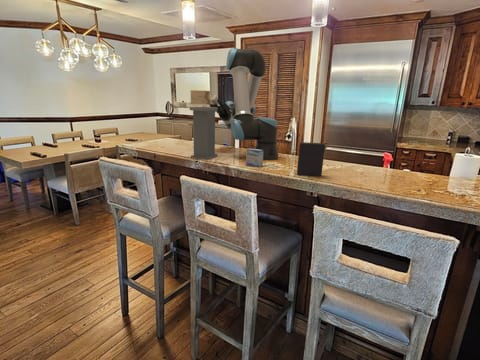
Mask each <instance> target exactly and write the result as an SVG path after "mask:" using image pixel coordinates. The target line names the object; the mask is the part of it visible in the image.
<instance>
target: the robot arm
mask: <svg viewBox="0 0 480 360" xmlns="http://www.w3.org/2000/svg"><path fill="white" fill-rule="evenodd" d="M226 56H227V58H226V65H225V66H226V67H225V68H226V70H228V71H229V75H231V76H232V84H233V94H234V95H233V97H234V102H233V101H232V100H228V101H223V100H222V99H219V98H218V96H217V95H216V94H214V96H212V95H211V94H210V100H215V102H216V103H217V104H209V107H217V108H218V110H215V113H217V114H218V117H219V118H220V119H221V121H222V122H223V124H224V125H225V126H226V128H227V129H229V131H230V133H231V135H232V137H233V139H234V140H237V141H251V140H252V141H255V142H256V144H255V147H254V149H260V150H264V152H263V161H264V160H265V161H266V160H268V161H270V160H277V159H279V152H278V148H277V139H278V138H277V136H278V120H276V119H274V118H271V117H270V118H268V117H263V116H257V119H254V116H255V115H256V111H257V109H256V106H255V103H256V98H257V95H258V92H259V88H260V85H261V81H262V78H263V77H264V76H265V74H266V69H267V63H266V60H265V57H264V55H263V54H262V53H261V52H260V51H259V50H257V49H249V48H247V49H245V48H230V49H229V50H228V53H227V55H226ZM248 75H249V77H248ZM248 78H249V79H248Z"/></svg>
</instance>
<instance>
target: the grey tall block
mask: <svg viewBox="0 0 480 360" xmlns="http://www.w3.org/2000/svg"><path fill="white" fill-rule="evenodd" d="M215 110H218V108H217V107H210V106H193V107H192V106H191V107H189V111H192V120H193V122H192V123H193V124H192V125H193V126H192V127H193V129H192V130H193V131H192V134H193V154H192V155H191V156H190V158H191V159H197V160H199V159H200V160H204V161H205V160H207V161H208V160H212V159H214V158H216V157H218V153H216V112H215Z"/></svg>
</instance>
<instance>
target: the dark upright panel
mask: <svg viewBox="0 0 480 360" xmlns="http://www.w3.org/2000/svg"><path fill="white" fill-rule="evenodd" d="M325 150H326V144H325V143H322V142H303V141H301V142H299V145H298V157H297V167H296V168H297V170H296V174H297V175H298V176H303V177H307V176H308V177H322V175H323V166H324V157H325Z"/></svg>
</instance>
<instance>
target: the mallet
mask: <svg viewBox="0 0 480 360" xmlns="http://www.w3.org/2000/svg"><path fill="white" fill-rule="evenodd" d="M210 95H211V91H210V90H197V89H196V90H195V89H194V90H192V89H191V90H190V105H209V106H210V104H217V103H216V102H215V100H210Z"/></svg>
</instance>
